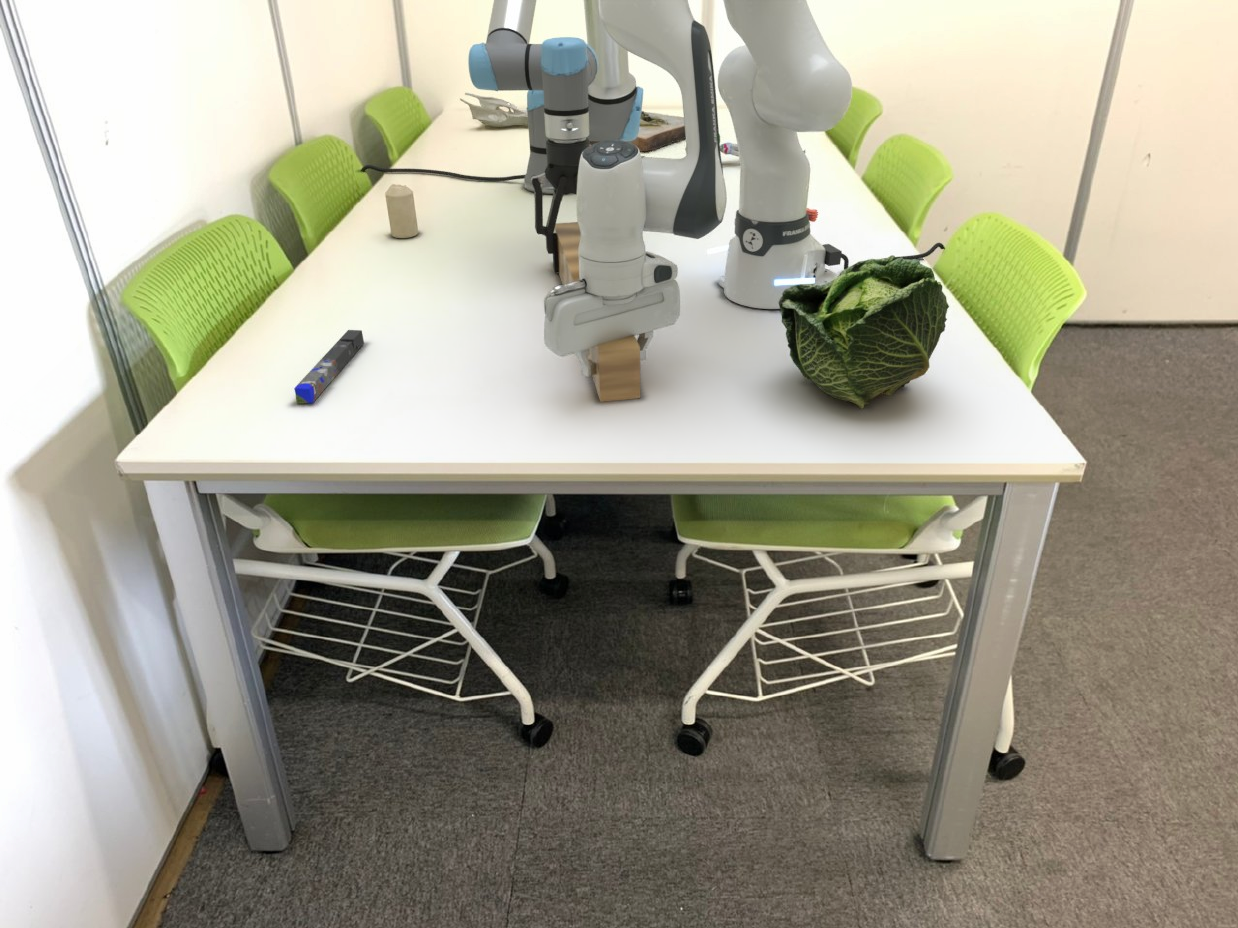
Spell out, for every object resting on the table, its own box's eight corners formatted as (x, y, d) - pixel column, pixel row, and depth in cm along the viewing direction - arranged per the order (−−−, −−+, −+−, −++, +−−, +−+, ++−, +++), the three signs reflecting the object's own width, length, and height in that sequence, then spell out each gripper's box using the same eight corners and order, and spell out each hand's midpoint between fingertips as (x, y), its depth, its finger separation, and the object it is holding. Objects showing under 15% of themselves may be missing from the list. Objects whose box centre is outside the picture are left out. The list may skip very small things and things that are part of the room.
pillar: (361, 330, 139) (308, 390, 122) (364, 343, 140) (311, 404, 123) (348, 329, 139) (293, 389, 122) (350, 342, 140) (296, 403, 123)
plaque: (647, 125, 237) (559, 112, 252) (647, 153, 241) (560, 139, 256) (706, 107, 258) (622, 97, 273) (705, 133, 262) (622, 121, 277)
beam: (555, 263, 169) (553, 223, 165) (584, 261, 170) (583, 221, 166) (600, 402, 123) (598, 351, 119) (640, 398, 123) (640, 347, 119)
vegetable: (809, 415, 132) (748, 301, 124) (914, 342, 133) (860, 224, 126) (882, 452, 114) (816, 321, 106) (1002, 367, 115) (946, 232, 107)
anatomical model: (468, 90, 276) (547, 88, 273) (472, 121, 281) (549, 120, 278) (454, 100, 264) (536, 98, 260) (458, 132, 269) (539, 131, 265)
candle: (423, 231, 187) (416, 182, 181) (409, 239, 182) (402, 190, 177) (400, 229, 188) (393, 180, 183) (386, 237, 184) (378, 187, 178)
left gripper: (514, 146, 149) (524, 279, 161) (625, 140, 151) (626, 272, 164) (511, 136, 155) (521, 265, 167) (617, 130, 157) (619, 258, 170)
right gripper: (555, 297, 111) (561, 395, 119) (687, 264, 121) (685, 357, 128) (531, 282, 116) (538, 377, 123) (660, 251, 125) (659, 341, 133)
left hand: (573, 268), depth 165 cm, fingers closed on beam, 6 cm apart
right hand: (614, 366), depth 126 cm, fingers closed on beam, 7 cm apart
